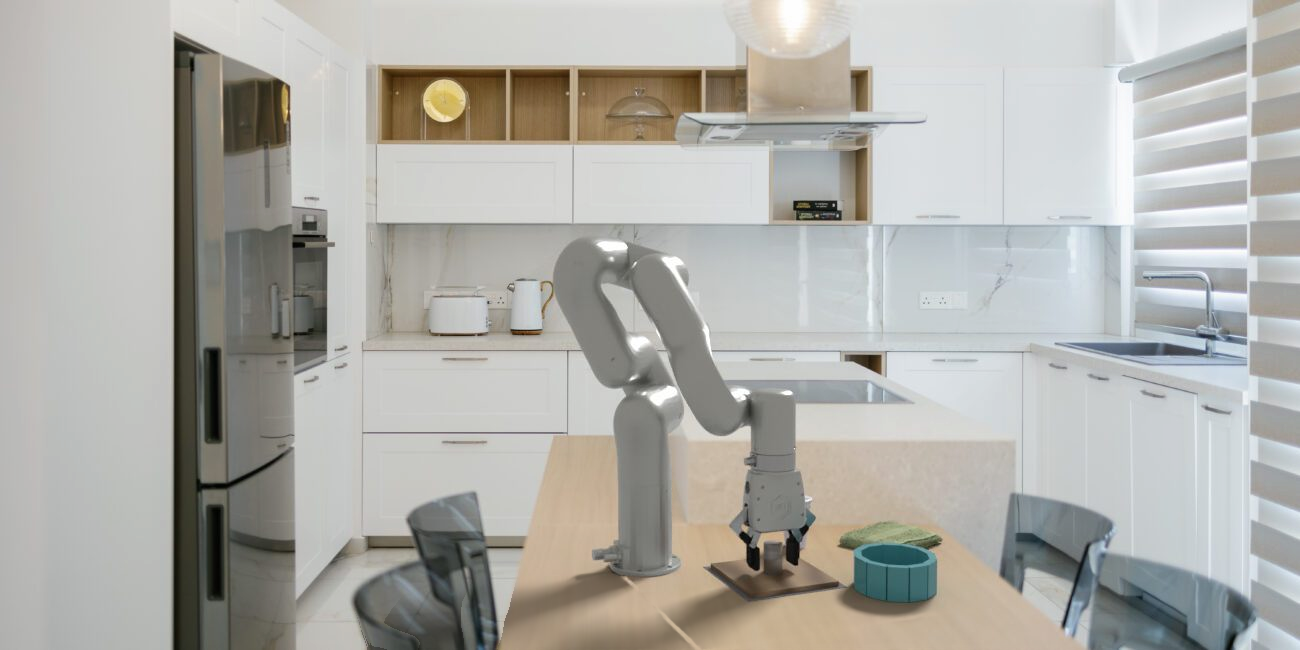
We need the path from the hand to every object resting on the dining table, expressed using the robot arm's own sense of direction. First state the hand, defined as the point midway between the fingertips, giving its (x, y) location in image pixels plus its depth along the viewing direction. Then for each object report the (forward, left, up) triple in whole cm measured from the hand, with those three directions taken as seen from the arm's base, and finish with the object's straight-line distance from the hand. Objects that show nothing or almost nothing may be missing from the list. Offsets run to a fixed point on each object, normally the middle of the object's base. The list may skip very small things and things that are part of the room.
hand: (773, 565), depth 160 cm
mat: (0, 0, -2) cm, 2 cm away
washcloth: (+30, +10, -3) cm, 32 cm away
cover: (0, 0, -2) cm, 2 cm away
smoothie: (+12, +14, -3) cm, 19 cm away
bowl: (+16, -12, -2) cm, 20 cm away
